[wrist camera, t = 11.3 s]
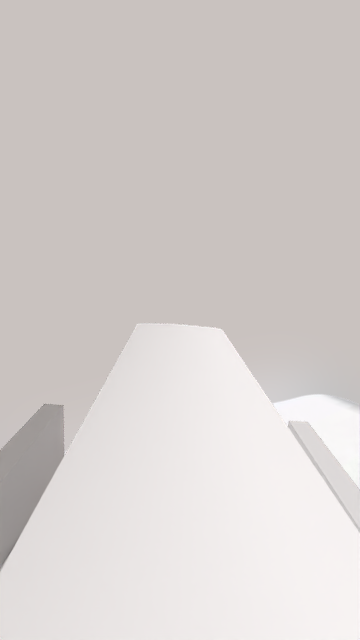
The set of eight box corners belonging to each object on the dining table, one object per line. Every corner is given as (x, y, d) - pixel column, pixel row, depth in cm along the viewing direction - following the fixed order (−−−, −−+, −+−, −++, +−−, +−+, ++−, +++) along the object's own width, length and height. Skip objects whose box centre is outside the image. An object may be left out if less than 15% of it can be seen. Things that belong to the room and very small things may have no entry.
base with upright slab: (61, 576, 13) (54, 316, 10) (257, 582, 13) (300, 332, 10) (-196, 1302, 4) (-764, 716, 1) (434, 1262, 4) (992, 737, 2)
